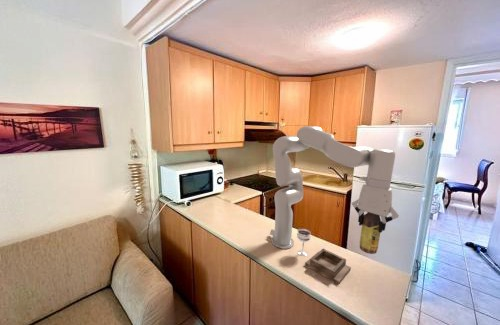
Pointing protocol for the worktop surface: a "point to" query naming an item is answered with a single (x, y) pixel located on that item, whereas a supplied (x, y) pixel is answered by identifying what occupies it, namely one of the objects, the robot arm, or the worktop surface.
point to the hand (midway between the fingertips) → (370, 227)
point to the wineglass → (303, 239)
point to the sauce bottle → (370, 233)
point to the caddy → (329, 265)
